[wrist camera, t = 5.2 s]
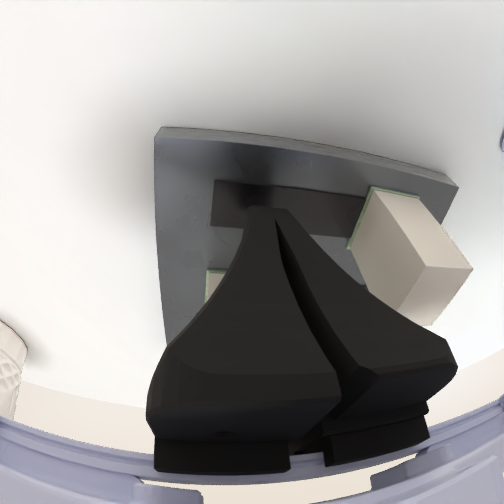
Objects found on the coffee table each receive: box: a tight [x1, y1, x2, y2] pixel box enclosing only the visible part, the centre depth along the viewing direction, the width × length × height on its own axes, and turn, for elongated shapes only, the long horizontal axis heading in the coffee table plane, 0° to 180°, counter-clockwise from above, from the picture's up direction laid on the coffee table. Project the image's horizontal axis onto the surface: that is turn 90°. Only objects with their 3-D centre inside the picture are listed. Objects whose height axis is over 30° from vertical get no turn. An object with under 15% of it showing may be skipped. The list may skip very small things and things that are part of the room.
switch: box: [350, 190, 473, 326], centre depth 11 cm, size 2×3×4 cm
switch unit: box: [154, 127, 459, 346], centre depth 16 cm, size 13×15×1 cm
